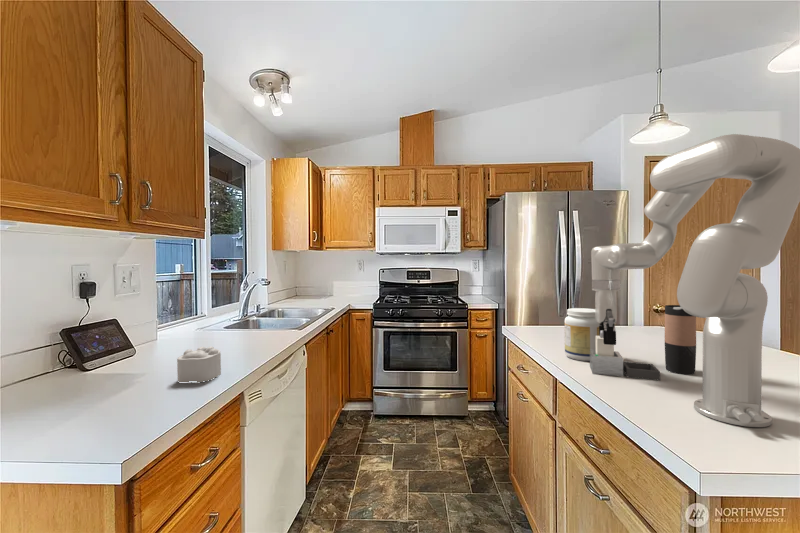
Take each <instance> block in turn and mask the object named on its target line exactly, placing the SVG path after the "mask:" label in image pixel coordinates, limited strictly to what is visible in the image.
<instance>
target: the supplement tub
mask: <svg viewBox="0 0 800 533" xmlns="http://www.w3.org/2000/svg"><path fill="white" fill-rule="evenodd" d="M566 312H567V313H566V317H565V318H564V354H565V355H566V357H567V358H569V359H572V360H575V361H581V362H582V361H583V362H590V349H591V350H596V336H599V326H602V325H600V324H599V323H598V322H597V321H596V319H595V308H587V307H586V308H583V307H582V308H581V307H573V308H568V309H566Z"/></svg>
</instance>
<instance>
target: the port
mask: <svg viewBox="0 0 800 533" xmlns="http://www.w3.org/2000/svg"><path fill="white" fill-rule="evenodd" d="M623 361H624V357H623V356H622V354H621V353H620V352H619V351H615V350H614V357H612V356H600V355H598V354H596V350H591V349H590V361H589V367H590V370H591V374H593V375H594V374H595V375H603V376H604V375H605V376H610V377H611V376H613V377H614V376H615V377H622V378H623V377H624V372H623Z"/></svg>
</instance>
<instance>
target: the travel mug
mask: <svg viewBox="0 0 800 533" xmlns="http://www.w3.org/2000/svg"><path fill="white" fill-rule="evenodd" d="M696 357H697V317H695V316H692V315H690V314H688V313H687V312H685V311H684V310H683V309H682V308H681V306H680V305H679V304H668V305H666V304H665V306H664V358H665V359H664V363H665V370H666V371H667V372H669V371H670V373H673V374H678V375H684V376H685V375H686V376H687V375H688V376H691V375H695V374H696V363H697V362H696V361H697V358H696Z"/></svg>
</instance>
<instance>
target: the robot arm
mask: <svg viewBox="0 0 800 533" xmlns="http://www.w3.org/2000/svg"><path fill="white" fill-rule="evenodd" d="M723 178H724V179H737V180H747V181H750V182H751V185H750V187H749V188H748V189H747V190H746V191H745V192H744V193H743V195H742V196H741V198H740V199H739V202H738V204H737V206H736V210H735V213H734V215H733V216H732V219H731V221H730V222H729V223H720V224H719V223H718V224H715V225H712V226H709V227H707V228H706V229H704V230H703V231H702V232H700V233H699V234H698V235H697V237H696V238H695V239H694V241H693V243H692V245H691V247H690V249H689V252H688V255H687V258H686V261H685V264H684V266H683V269H682V272H681V274H680V279H679V281H678V284H677V289H676V298H677V302H678V305H680V306H681V308H682V309H683V310H684V311H685V312H687V313H688V314H690V315H692V316H695V317H696V318H700V319H705V321H704V325H703V329H702V330H703V331H702V398H700V399H697V400H694V401H693V408H694V410H695V411H697V412H698V413H700V414H701V415H703V416H706V417H708V418H710V419H713V420H716V421H719V422H722V423H726V424H729V425H730V424H731V425H736V426H740V427H741V426H742V427H746V428H766V427H769V426H772V424H773V418H772V417H771V415H770V414H768V413H767V412H765V411H763V410H762V381H763V380H762V370H763V369H762V363H763V362H762V357H763V355H762V349H763V330H764V329H763V328H764V327H763V326H764V320H765V317H766V312H767V306H768V302H769V301H768V296H769V295H768V292H767V289H766V287H765V285H764V284H763V283H762V282H761V281H760V280H759V279H758V278H756V277H755V276H752V275H750V274H746V273H742V272H741V270H753V269H760V268H763V267H766V266H768V265H770V264H771V263H773V262H774V261H775V260H776V258H777V256H778V254H779V253H780V250H781V248H782V245H783V242H784V241H785V237H786V236H787V233H788V230H789V229H790V227H791V224H792V222H793V219H794V216H795V213H796V210H797V208H798V206H799V205H800V204H799V203H800V148H799V147H797V146H796V145H794V144H792V143H790V142H787V141H785V140H781V139H777V138H771V137H765V136H757V135H755V136H754V135H749V134H740V133H739V134H738V133H737V134H736V133H735V134H734V133H733V134H730V133H729V134H724V135H720V136H717V137H714V138H711V139H708V140H706V141H703V142H700V143H697V144H695V145H693V146H689V147H688V148H685V149H682V150H679V151H677V152H675V153H672V154H669V155H668V156H665V157H664V158H663V159H660V161H658V162H657V163H656V164H655V166H653V168H652V170H651V173H650V174H649V182H650V185H651V186H652V188H653V189H654V190H656V192H655V194H654V195H653V196H652V198H651V199H650V200H649V201H648V203H647V204H646V205H645V207H644V208H643V213H644V215H645V216H646V217H647V219H648V220H650V221H651V222H652V228H651V230H650V232H649V233H648V234H647V236H645V238H644V239H643V240H642V241H641V242H640V243H639V242H636V243H635V242H634V243H633V242H628V243H614V244H611V245H598V246H594V247H592V249H591V251H590V256H591V257H590V259H591V291H595V296H594V297H595V299H594V300H595V301H594V306H595V308H594V309H595V319H596V321H597V322H598V323H599V324H600V325H602V326H599V336H600V331H601V330H604V331H603V341H604V344H607V345H614V346H616V345H617V330H616V324H617V322H618V305H617V303H618V301H617V299H618V298H617V292H620V291H621V271H620V270H643V269H644V270H645V269H649V268H651V267H653V266H654V265H656V264H657V263H658V262H659V261H660V260H662V258H664V256H665V255H666V254H667V253H668V252H669V251H670V249H672V246H674V242H675V240H676V236H677V232H678V224H679V223H680V222H681V221H682V220H683V218H684V217H685V216H686V215H687V214H688V213H689V211H691V209H692V208H693V207H694V205H696V204H697V202H698V201H700V199H701V198H702V197H703V196H704V194H706V192H707V191H708V190H709V189H710V187H712V185H713V184H714V183H715V181H716V180H717V179H723Z"/></svg>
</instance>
